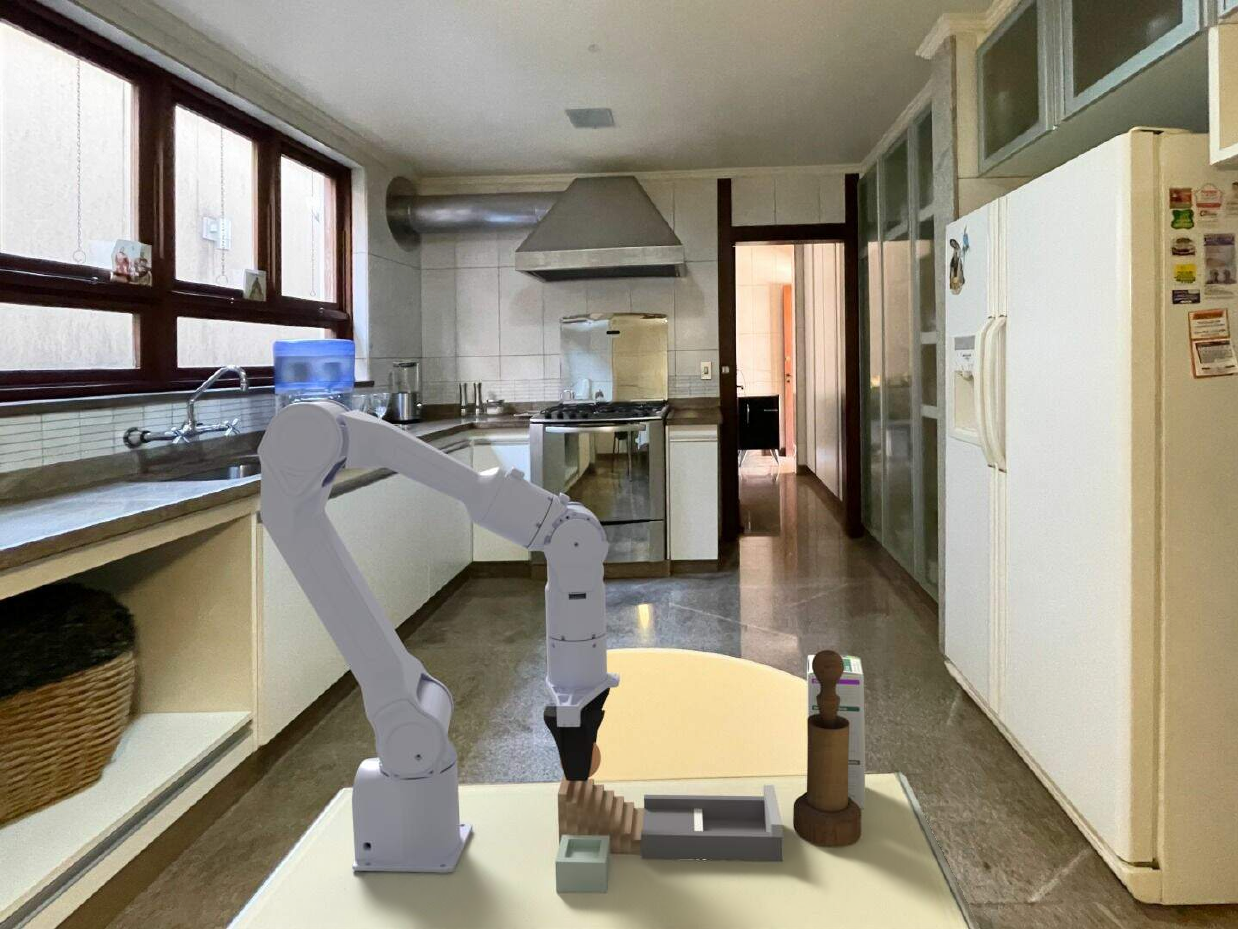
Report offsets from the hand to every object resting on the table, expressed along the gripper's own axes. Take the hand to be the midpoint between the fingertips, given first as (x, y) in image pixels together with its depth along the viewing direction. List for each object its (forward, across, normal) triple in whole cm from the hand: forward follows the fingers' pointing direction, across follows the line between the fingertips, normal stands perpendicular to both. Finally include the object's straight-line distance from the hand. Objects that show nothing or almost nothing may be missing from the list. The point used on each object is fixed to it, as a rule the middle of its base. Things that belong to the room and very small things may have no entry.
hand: (579, 768), depth 84 cm
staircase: (+7, 0, -2) cm, 7 cm away
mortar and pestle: (+7, +2, -24) cm, 25 cm away
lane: (+7, 0, -12) cm, 14 cm away
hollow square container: (+7, -7, -1) cm, 10 cm away
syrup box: (+7, +9, -26) cm, 28 cm away
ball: (-1, 0, 0) cm, 1 cm away
